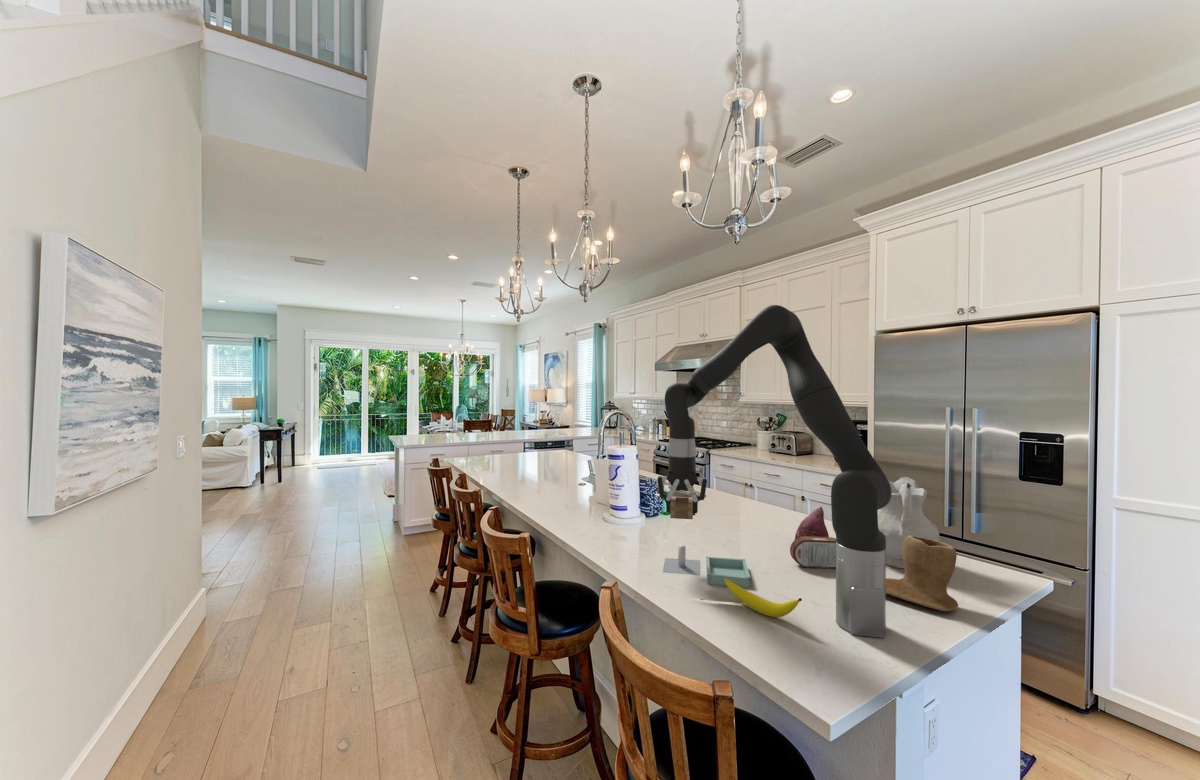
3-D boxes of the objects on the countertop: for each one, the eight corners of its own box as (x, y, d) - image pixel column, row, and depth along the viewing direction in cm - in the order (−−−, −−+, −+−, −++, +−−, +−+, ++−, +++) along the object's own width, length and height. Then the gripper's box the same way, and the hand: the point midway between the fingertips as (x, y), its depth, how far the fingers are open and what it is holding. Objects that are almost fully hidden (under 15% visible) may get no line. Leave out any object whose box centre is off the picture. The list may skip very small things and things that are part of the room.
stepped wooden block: (692, 519, 126) (692, 504, 126) (670, 518, 127) (670, 503, 127) (692, 511, 135) (692, 497, 135) (671, 510, 136) (671, 496, 136)
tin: (844, 566, 133) (844, 536, 133) (849, 570, 130) (849, 540, 130) (789, 564, 135) (789, 534, 135) (793, 568, 132) (793, 538, 132)
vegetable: (829, 556, 150) (842, 511, 150) (825, 561, 142) (839, 514, 141) (795, 542, 156) (808, 499, 156) (789, 546, 147) (803, 501, 147)
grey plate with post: (700, 577, 125) (700, 554, 125) (662, 574, 127) (662, 551, 127) (699, 562, 136) (699, 541, 136) (665, 559, 138) (665, 538, 138)
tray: (750, 589, 117) (750, 578, 117) (707, 585, 119) (707, 574, 119) (744, 569, 130) (745, 559, 130) (706, 566, 133) (706, 556, 133)
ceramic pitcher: (957, 584, 123) (965, 490, 123) (877, 574, 126) (885, 482, 126) (915, 556, 145) (922, 476, 144) (848, 547, 148) (854, 469, 148)
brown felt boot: (966, 605, 109) (966, 541, 109) (948, 620, 102) (948, 551, 102) (894, 583, 121) (894, 525, 121) (874, 596, 114) (874, 534, 114)
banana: (727, 596, 113) (727, 570, 113) (804, 626, 99) (804, 596, 99) (720, 600, 111) (720, 573, 111) (798, 631, 97) (798, 600, 97)
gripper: (655, 455, 129) (655, 516, 129) (708, 456, 126) (708, 519, 126) (657, 451, 136) (657, 509, 136) (707, 453, 134) (707, 512, 133)
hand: (682, 513), depth 131 cm, fingers closed on stepped wooden block, 6 cm apart
